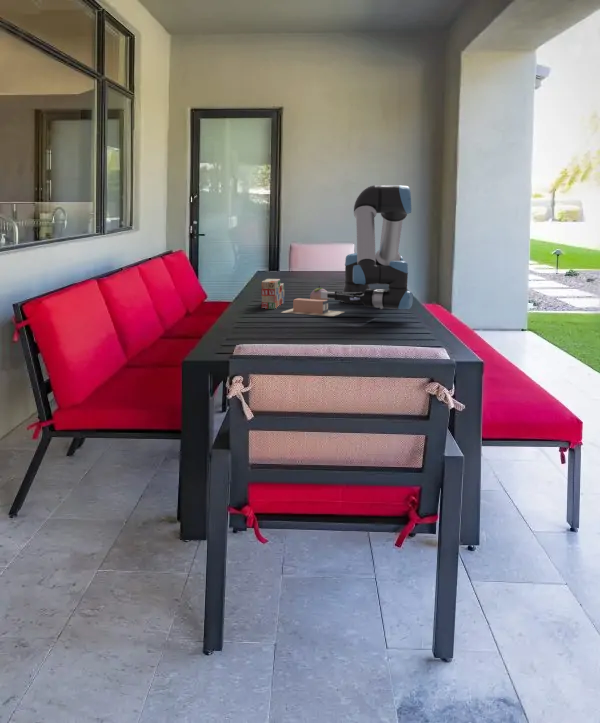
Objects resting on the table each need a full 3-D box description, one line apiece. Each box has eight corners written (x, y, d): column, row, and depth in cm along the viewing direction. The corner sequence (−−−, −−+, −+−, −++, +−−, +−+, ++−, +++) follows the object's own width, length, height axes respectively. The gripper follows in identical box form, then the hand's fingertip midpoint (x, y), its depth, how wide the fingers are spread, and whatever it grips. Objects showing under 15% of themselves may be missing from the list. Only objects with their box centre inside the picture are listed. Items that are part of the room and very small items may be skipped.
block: (328, 300, 325) (298, 298, 330) (323, 301, 320) (293, 299, 326) (327, 311, 326) (297, 309, 331) (323, 313, 322) (293, 311, 327)
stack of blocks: (271, 302, 361) (271, 276, 358) (284, 303, 360) (284, 276, 357) (261, 308, 341) (261, 281, 338) (275, 309, 339) (275, 281, 337)
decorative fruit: (326, 309, 339) (327, 287, 337) (308, 309, 340) (309, 286, 338) (330, 306, 348) (330, 285, 346) (312, 306, 349) (312, 284, 347)
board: (345, 314, 327) (345, 311, 327) (333, 318, 315) (333, 316, 314) (294, 310, 336) (294, 308, 336) (280, 314, 324) (280, 312, 324)
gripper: (369, 309, 309) (315, 305, 318) (379, 305, 320) (326, 301, 330) (369, 290, 307) (315, 287, 316) (379, 287, 319) (327, 284, 328)
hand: (321, 294), depth 323 cm, fingers closed
